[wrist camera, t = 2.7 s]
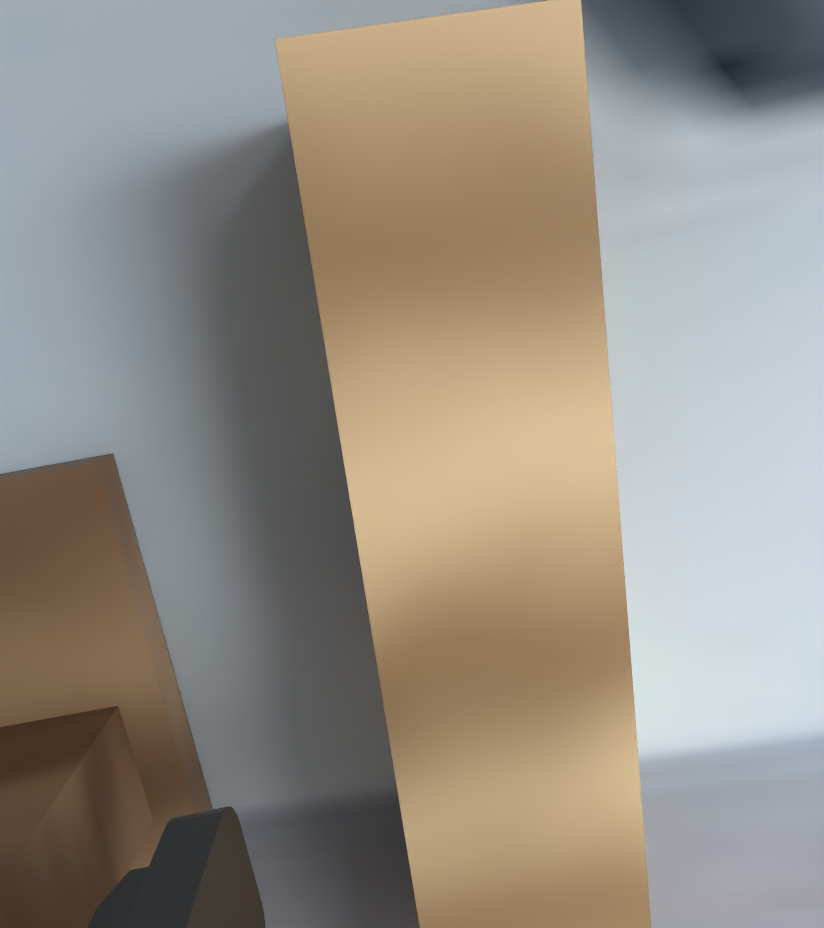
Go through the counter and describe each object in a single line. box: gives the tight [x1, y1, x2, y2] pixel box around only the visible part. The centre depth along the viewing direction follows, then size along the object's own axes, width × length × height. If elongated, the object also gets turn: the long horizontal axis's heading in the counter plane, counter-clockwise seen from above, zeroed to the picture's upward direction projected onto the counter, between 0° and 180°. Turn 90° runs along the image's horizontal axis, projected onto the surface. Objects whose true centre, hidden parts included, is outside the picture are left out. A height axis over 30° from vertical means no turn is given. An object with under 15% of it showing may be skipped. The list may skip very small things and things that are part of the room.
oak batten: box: [275, 0, 651, 928], centre depth 15 cm, size 20×4×4 cm, turn 8°
